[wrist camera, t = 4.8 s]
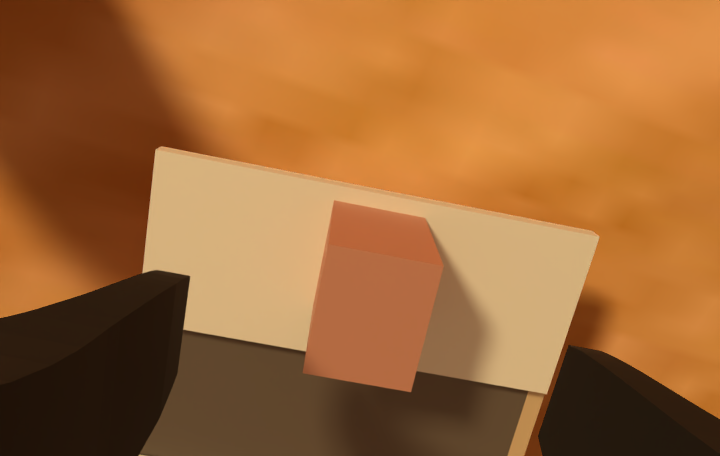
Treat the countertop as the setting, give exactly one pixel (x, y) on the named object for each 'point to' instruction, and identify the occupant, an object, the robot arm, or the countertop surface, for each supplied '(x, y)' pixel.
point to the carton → (327, 410)
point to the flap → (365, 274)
